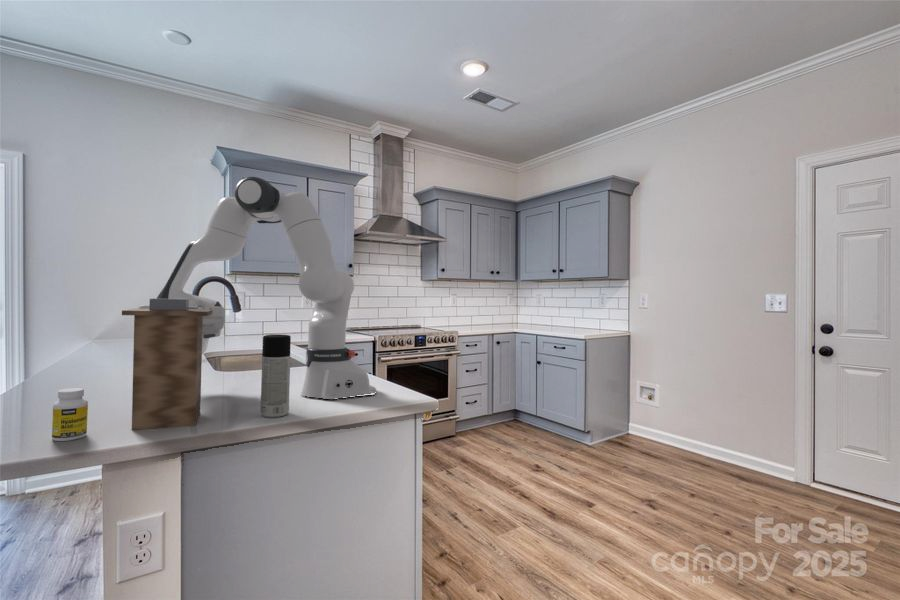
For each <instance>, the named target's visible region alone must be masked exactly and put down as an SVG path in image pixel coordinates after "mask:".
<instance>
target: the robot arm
mask: <svg viewBox="0 0 900 600" xmlns="http://www.w3.org/2000/svg"><path fill="white" fill-rule="evenodd" d="M255 222H257V223H258V224H279V223H282V224H283V227H284V229H285V233H286V234H287V237H288V239H289V241H290V243H291V248H292V249H293V251H294V254H295V257H296V261H297V266H298V267H297V268H298V272H299V278H298V279H299V280H298V288H299V291H300V293H301V295H303V297H305V298H306V299H308V300H310V301H312V302H314V308H313V312H312V315H311V317H310V319H309V321H308V335H307V336H308V339H307V341H308V342H307V348H306V351H305V366H306V371H305V377H304V382H303V387H302V389H301V390H302V391H301V392H300V395H301V396H303V397H305V396H307V397H306V398H309V397H316V398H315V399H318V398H323V399H335V398H343V397H350V396H357V395H364V394H371V393H375V392H376V393H377V388H376V387H375V386H373V385H371V384H370V378H369V375H368V373H367V371H366V370H365V369H363V367H361V366H360V365H359V364H357V363H356V362H355V361H354V360H352V358H354V357H355V356H356V351H355V350H354V349H349V348H347V347H346V339H347V338H346V337H347V336H346V334H347V333H346V332H347V331H346V330H347V318H348V314H349V310H350V309H349V308H350V305H351V304H350V303H351V298H352V294H353V292H354V289H355V282H354V280H353V278H352V276H351V275H350V274H349V273H348V272H347V271H345V270H343V269H341V268H337V267H336V265H335V263H334V258H333V254H332V242H331V240H330V238H329V236H328V232H327V231H326V228H325V226H324V224H323V221H322V219H321V217H320V214H319V212H318V210H317V209H316V207H315V206H314V204H313V202H312V200H311V199H310V198H309V196H308V195H306V194H305V193H303V192H300V191H293V192H290V193H287V194H284V193H283V192H282V191H281V190H280V189H279V188H278V187H276V186H275V185H274V184H271V182H270V183H269V181H267V180H265V179H263V178H261V177H259V176H247V177H244V178H242V179H241V180H240V181H238V182H237V184H236V186H235V189H234V196H224V197H223V198H221V199H220V200H219V201H218V203H217V205H216V206H215V208H214V210H213V212H212V215H211V217H210V220H209V223H208V225H207V229H206V231H205V232H204V234H203V235H202V236H201V237H200V238H199V239H196V240H192V241H191V242H190V243H188V245H187V246H186V248H185V249H184V251H183V253H182V254H181V256H180V258H179V259H178V262H177V263H176V264H175V267H174V269H173V270H172V272H171V274H170V276H169V278H168V280H167V282H166V283H165V285H164V287H163V288H162V289H161V291H160V292H159V293H158V295H157V297H156V299H175V298H184V299H189V309H197V310H213V311H212V314H211V315H208V316H203V326H202V355H204V354H205V353H206V351H207V348H208V347H209V346H208V345H209V339H211V338H217V337H220V336H221V334H222V333H221V332H222V330H223V329H224V327H225V323H226V322H225V320H226V308H225V307H223V306H222V304H221V303H220V301H218V300H215V299H211V298H208V297H204V296H199V295H196V294H191V293H188V292H185V291H184V287H185V286H186V284H187V282H188V280H189V278H190V277H191V274H192V273H193V271H194V270H195V268H196V267H197V266H198V265H200V264H202V263H203V264H204V263H206V262H207V263H208V262H221V261H228V260H232V259H234V258H236V257H237V256H239V255H240V254H241V253H242V252H243V249H244V247H245V245H246V241H247V238H248V235H249V231H250V228H251V227H252V225H253V224H254V223H255ZM149 305H150V304H149ZM149 305H148V304H146V305H140V306H139V307H138V308H137V309H149ZM323 399H322V400H323Z"/></svg>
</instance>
